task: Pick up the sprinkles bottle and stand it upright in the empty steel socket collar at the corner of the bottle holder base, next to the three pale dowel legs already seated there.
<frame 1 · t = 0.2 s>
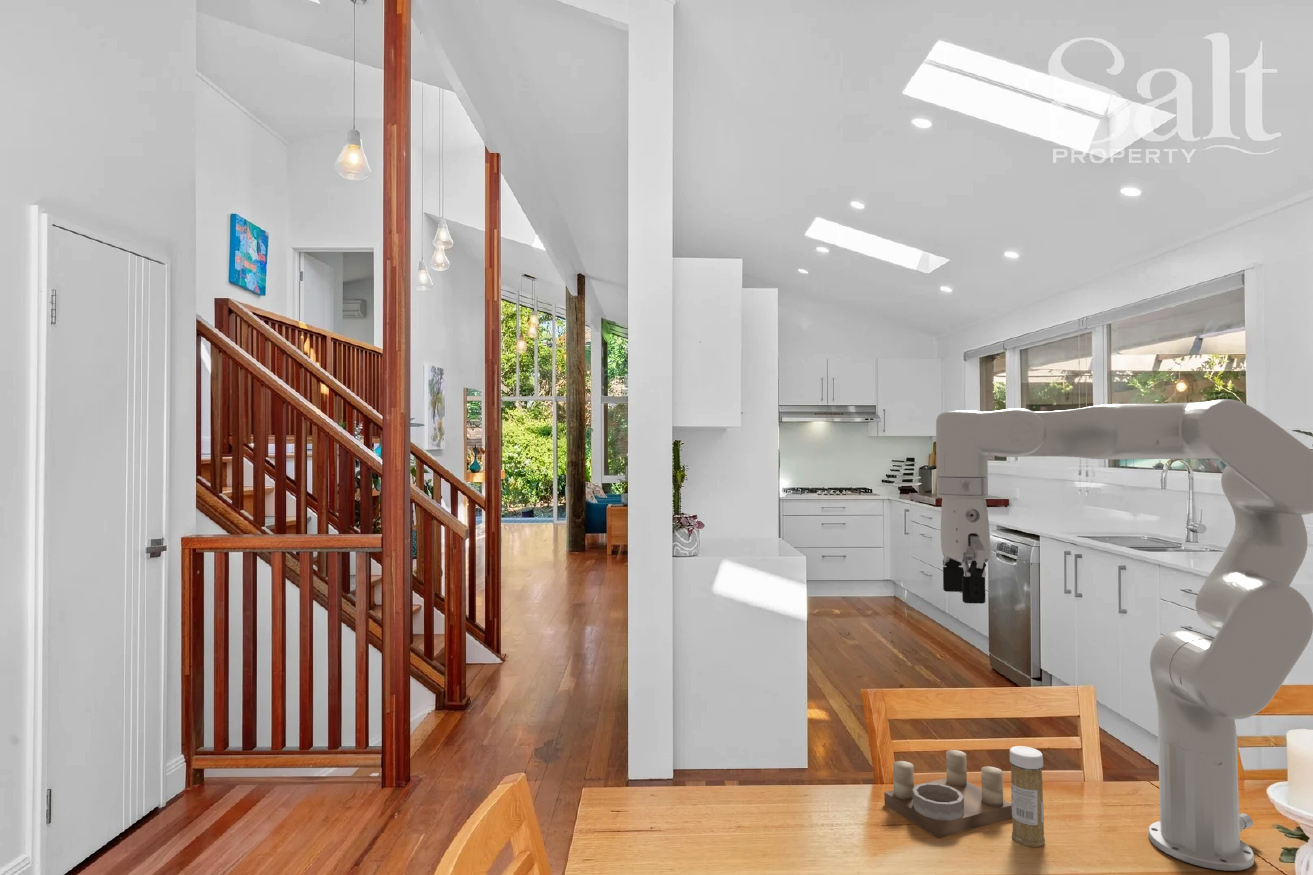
hand: (963, 596, 116), 36 cm above the table, tool pointing down, fingers open, 9 cm apart
bottle holder base: (948, 810, 121), on the table
sprinkles bottle: (1027, 841, 111), on the table
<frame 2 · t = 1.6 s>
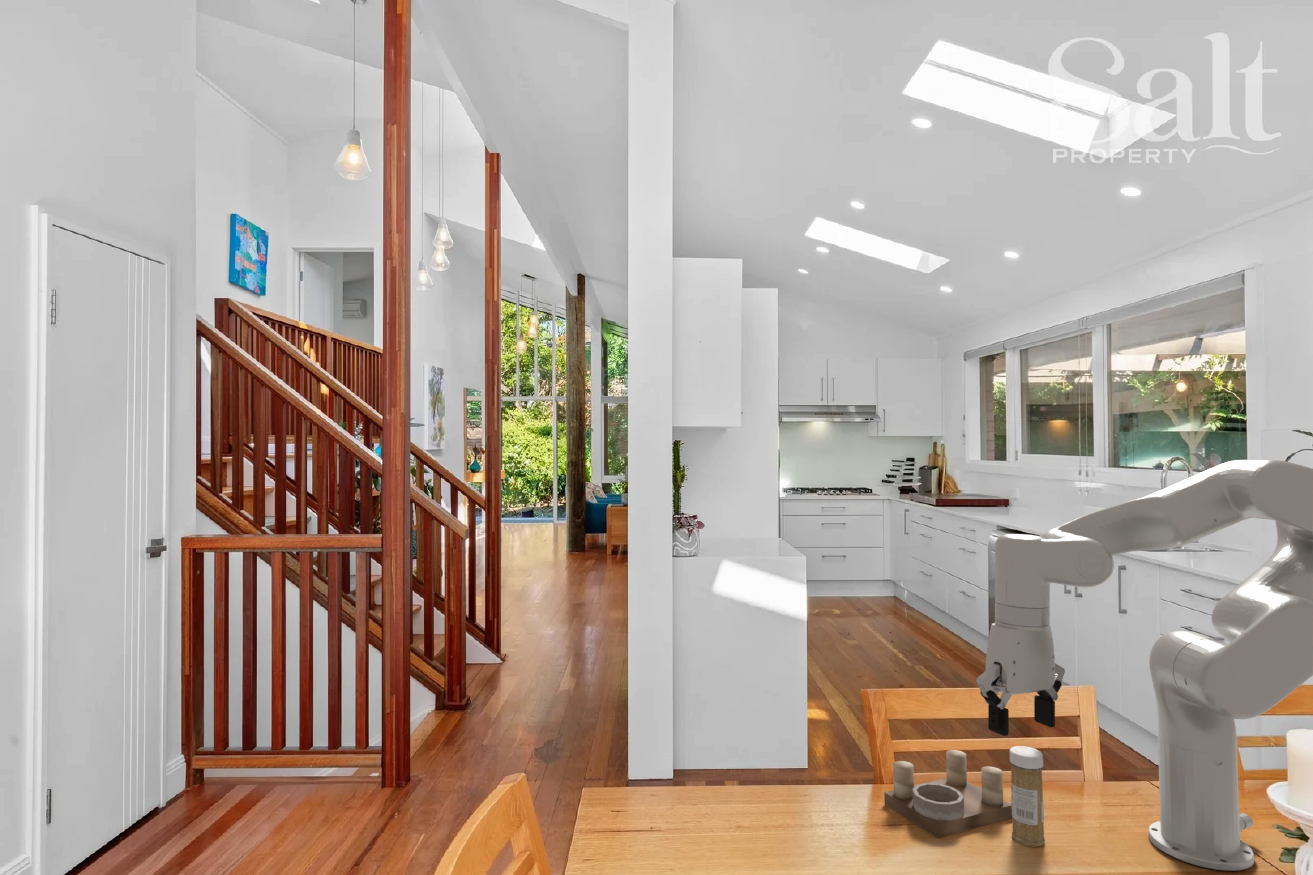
hand: (1021, 728, 112), 17 cm above the table, tool pointing down, fingers open, 9 cm apart
nothing on the table moved.
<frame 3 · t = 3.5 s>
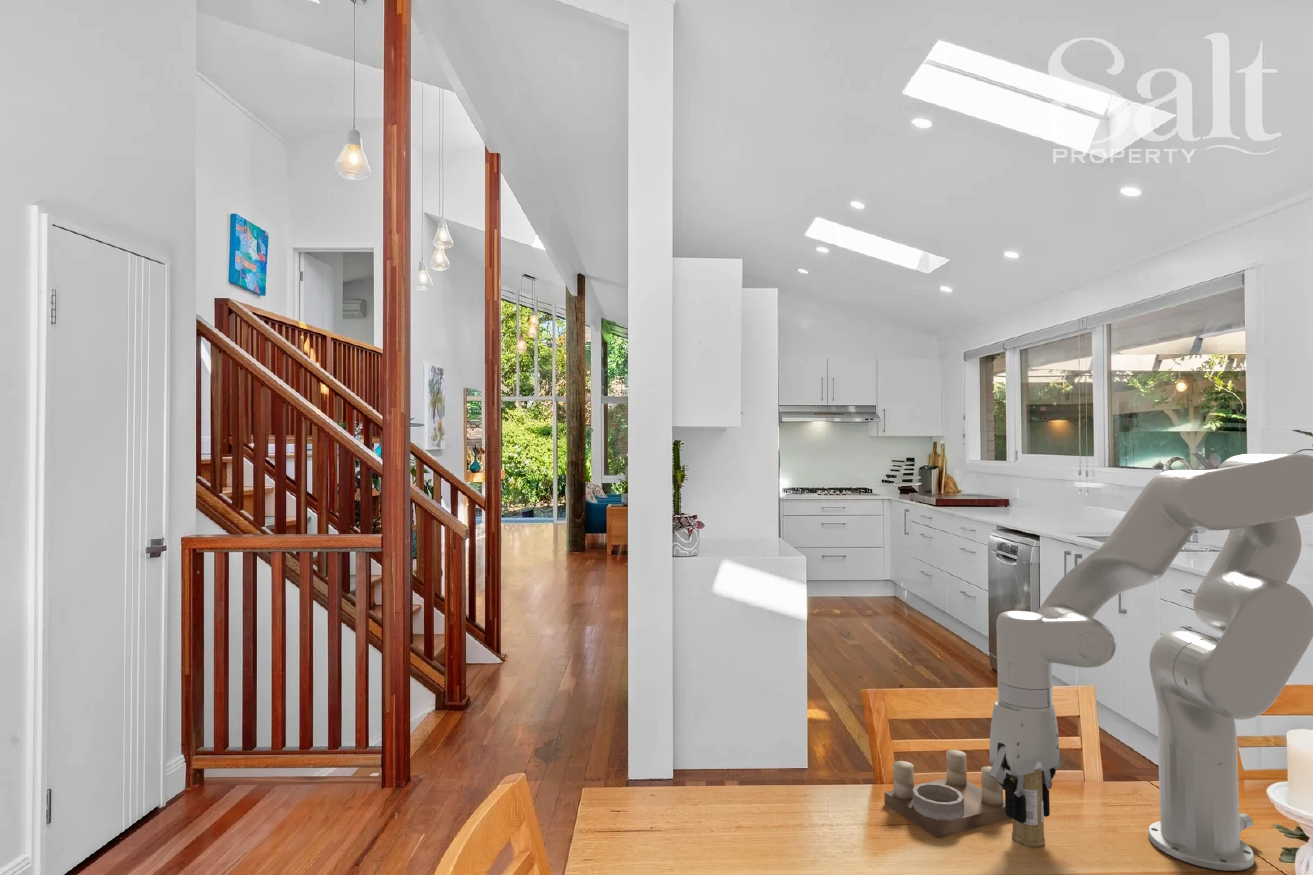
hand: (1027, 814, 112), 4 cm above the table, tool pointing down, fingers closed on sprinkles bottle, 4 cm apart
sprinkles bottle: (1028, 841, 111), on the table, touching gripper
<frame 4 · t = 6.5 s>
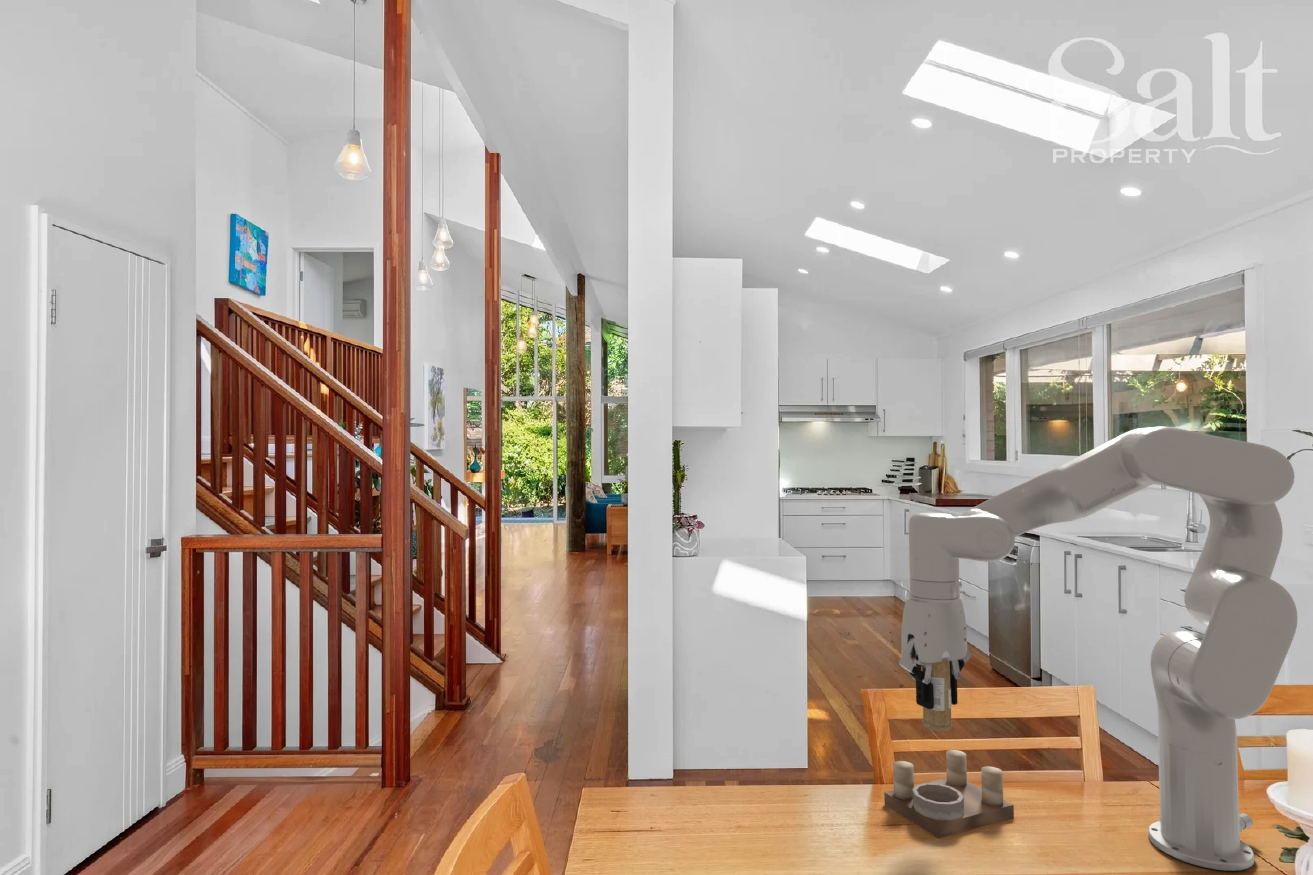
hand: (936, 703, 118), 19 cm above the table, tool pointing down, fingers closed on sprinkles bottle, 4 cm apart
sprinkles bottle: (937, 728, 118), point 15 cm above the table, touching gripper
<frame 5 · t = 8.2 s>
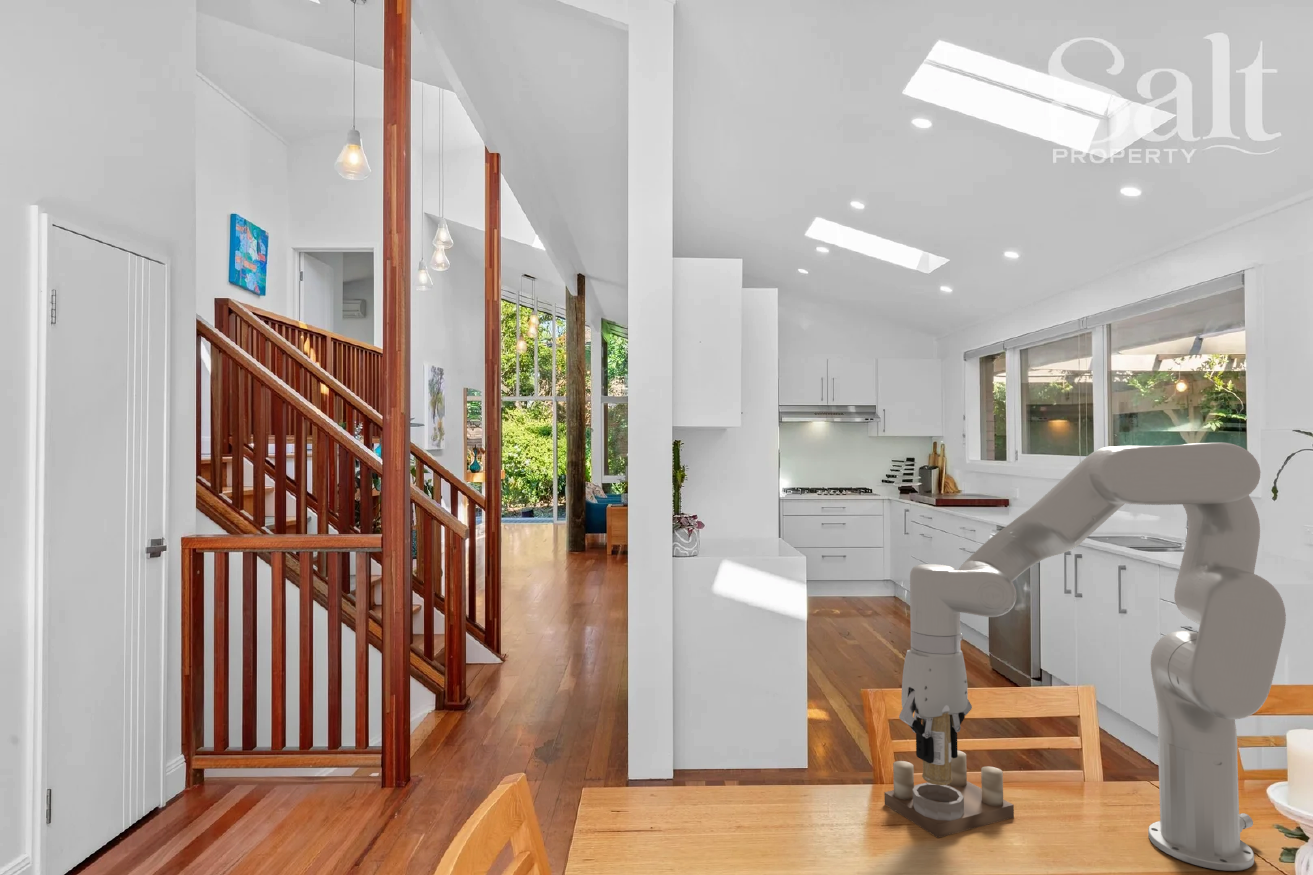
hand: (936, 756, 118), 10 cm above the table, tool pointing down, fingers closed on sprinkles bottle, 4 cm apart
sprinkles bottle: (936, 781, 117), point 6 cm above the table, touching gripper
when the fingers open (7 cm above the table, at t = 9.5 s): sprinkles bottle stays where it is, resting on bottle holder base.
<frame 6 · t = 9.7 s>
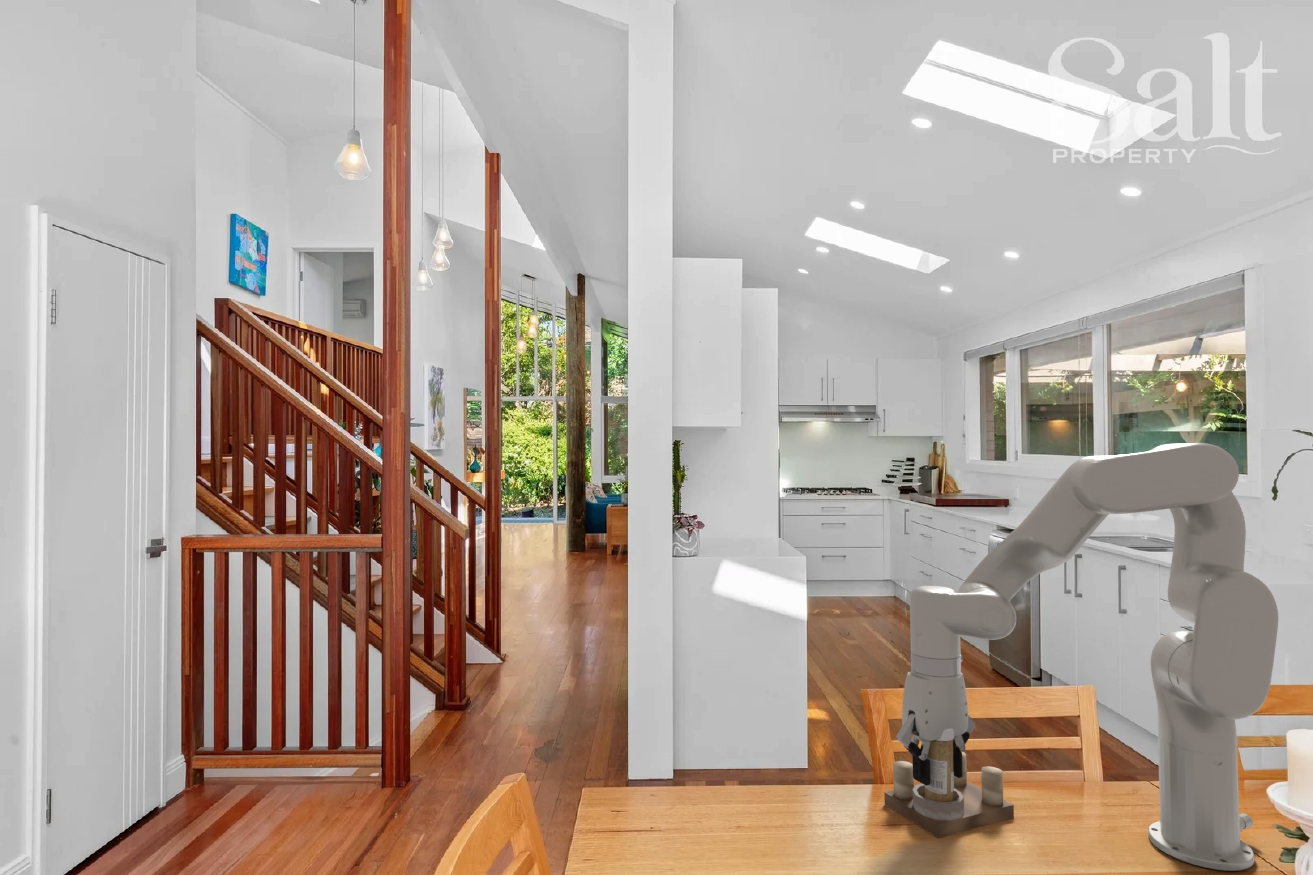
hand: (937, 777, 117), 7 cm above the table, tool pointing down, fingers open, 6 cm apart
sprinkles bottle: (938, 810, 117), point 2 cm above the table, touching bottle holder base
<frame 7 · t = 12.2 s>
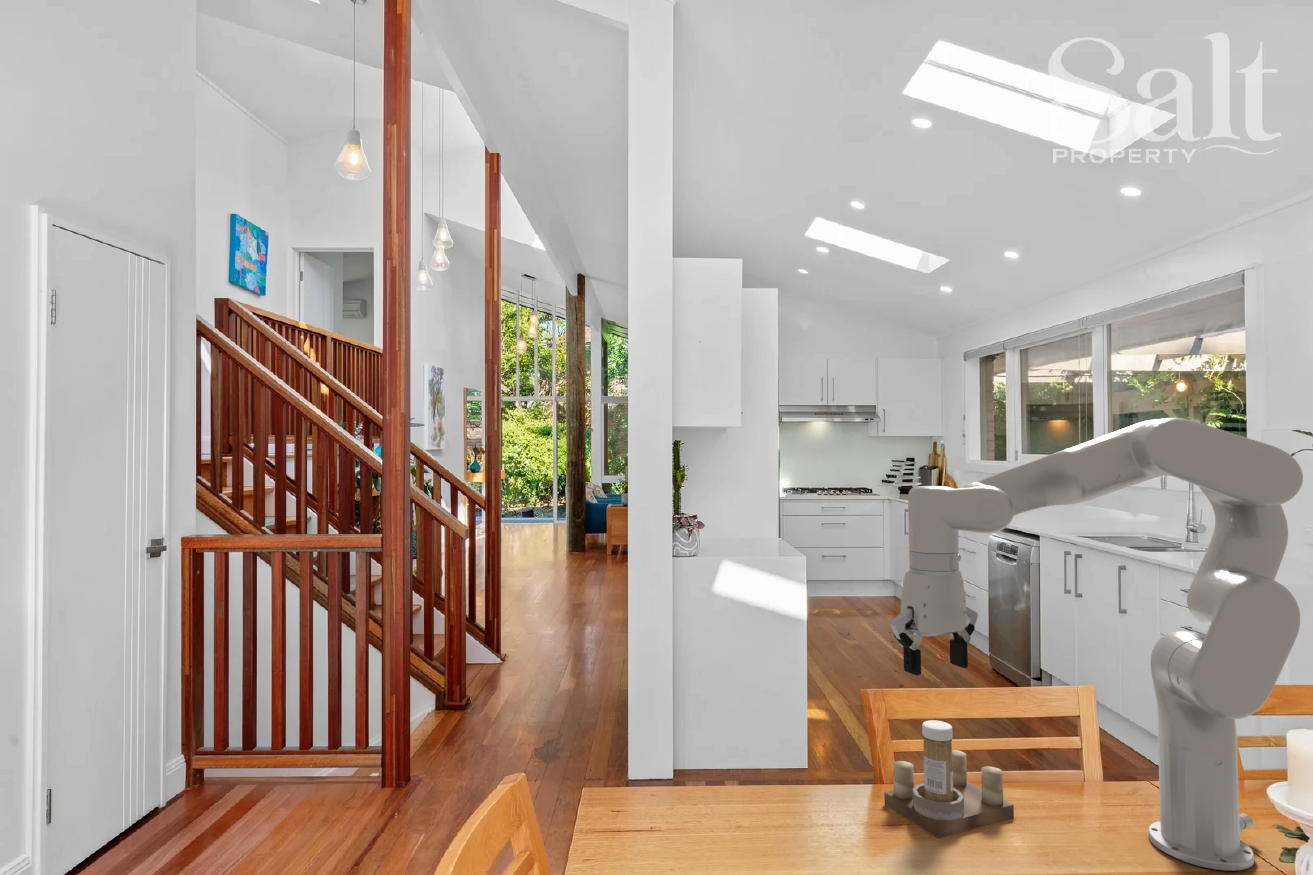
hand: (936, 669, 118), 24 cm above the table, tool pointing down, fingers open, 9 cm apart
nothing on the table moved.
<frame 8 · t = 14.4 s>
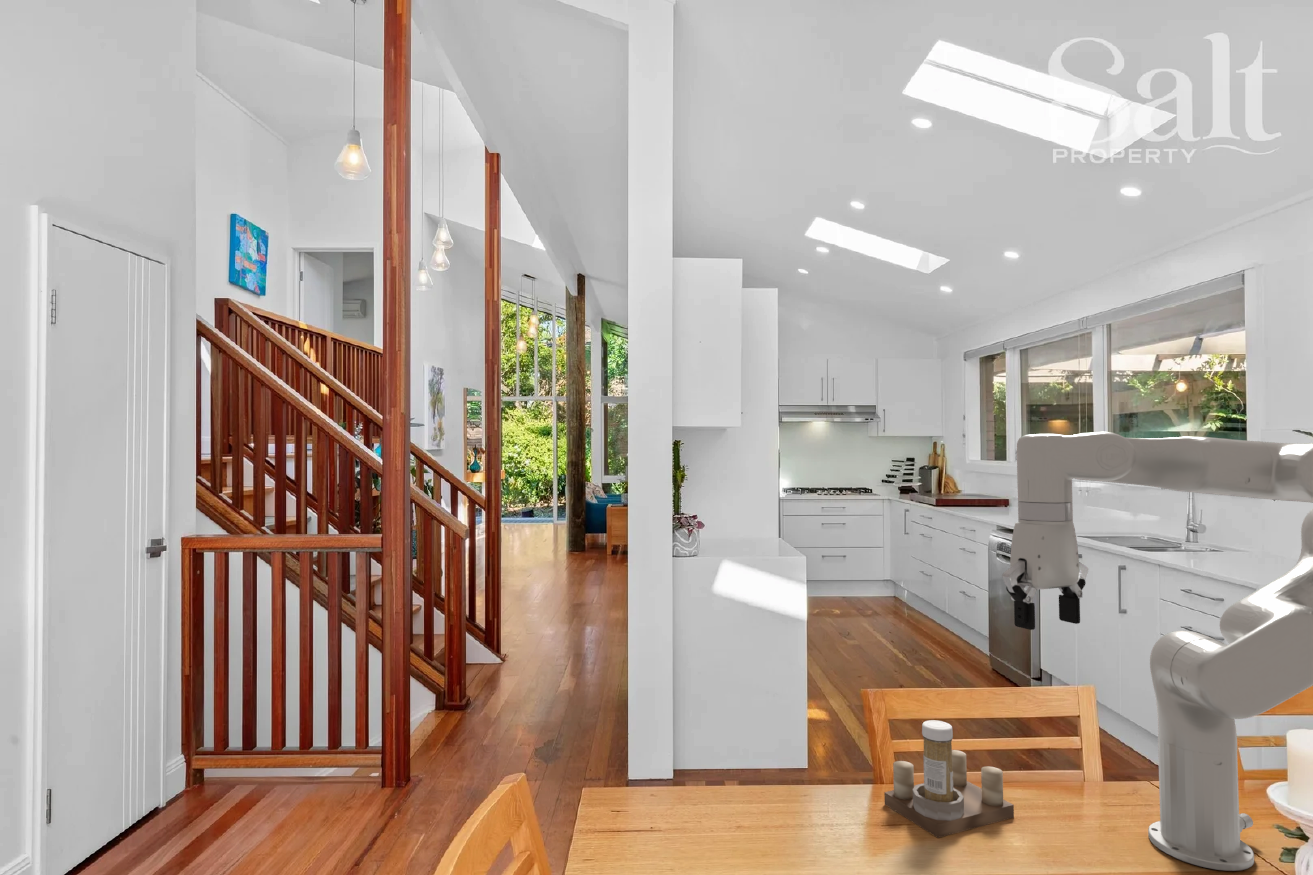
hand: (1047, 624, 113), 32 cm above the table, tool pointing down, fingers open, 9 cm apart
nothing on the table moved.
at the end: sprinkles bottle 0.1 cm from the target spot on the bottle holder base, point 1.8 cm above the bottle holder base's base; sprinkles bottle tilted 0°; the gripper is holding nothing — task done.
